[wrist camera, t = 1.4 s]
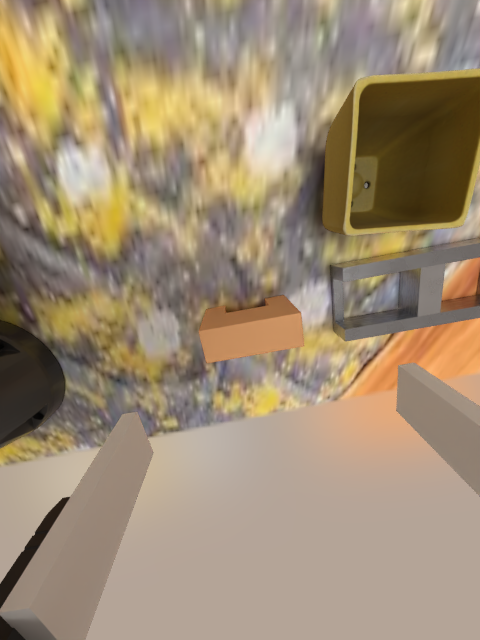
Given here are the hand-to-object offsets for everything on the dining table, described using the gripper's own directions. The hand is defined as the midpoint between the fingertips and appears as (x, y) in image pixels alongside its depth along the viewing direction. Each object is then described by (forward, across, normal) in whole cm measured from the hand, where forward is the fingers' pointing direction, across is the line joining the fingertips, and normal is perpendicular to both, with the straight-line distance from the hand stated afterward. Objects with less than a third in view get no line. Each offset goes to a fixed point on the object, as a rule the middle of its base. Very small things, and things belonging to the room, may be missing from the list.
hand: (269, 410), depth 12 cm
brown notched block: (+16, 0, 0) cm, 16 cm away
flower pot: (+17, +12, +11) cm, 23 cm away
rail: (+16, +19, 0) cm, 25 cm away
